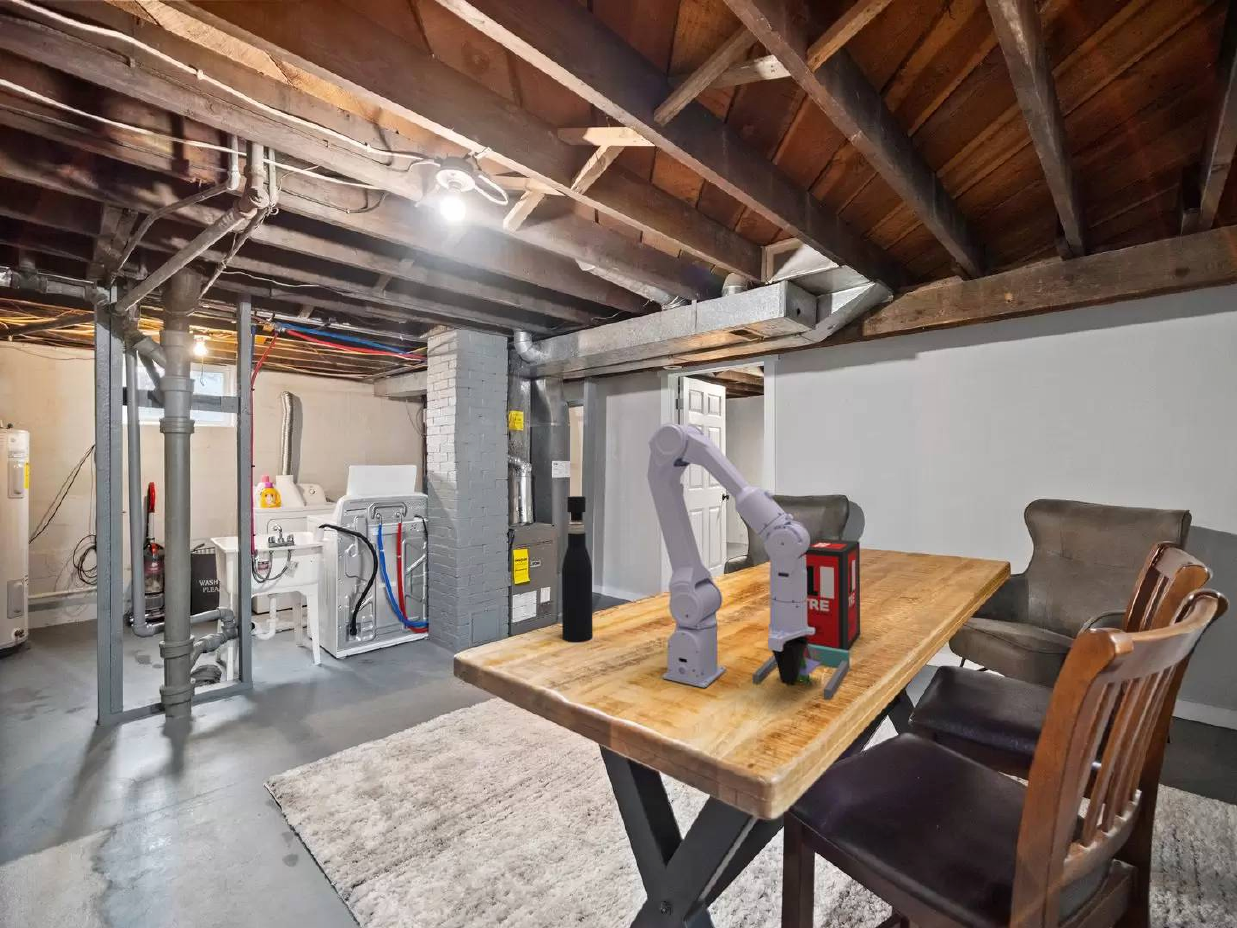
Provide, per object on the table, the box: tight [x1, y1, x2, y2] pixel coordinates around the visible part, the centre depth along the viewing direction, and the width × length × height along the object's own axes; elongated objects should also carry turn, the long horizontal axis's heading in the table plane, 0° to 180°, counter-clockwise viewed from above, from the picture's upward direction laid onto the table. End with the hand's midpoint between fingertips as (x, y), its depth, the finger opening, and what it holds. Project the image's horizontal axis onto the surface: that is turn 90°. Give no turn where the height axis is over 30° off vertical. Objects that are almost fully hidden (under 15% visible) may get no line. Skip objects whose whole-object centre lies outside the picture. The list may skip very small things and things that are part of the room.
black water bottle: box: [561, 495, 593, 643], centre depth 117 cm, size 6×6×30 cm
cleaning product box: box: [799, 538, 861, 651], centre depth 113 cm, size 16×9×20 cm, turn 146°
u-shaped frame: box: [752, 644, 851, 701], centre depth 96 cm, size 16×12×3 cm
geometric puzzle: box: [773, 644, 822, 687], centre depth 92 cm, size 7×7×8 cm
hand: (788, 682), depth 88 cm, fingers closed
